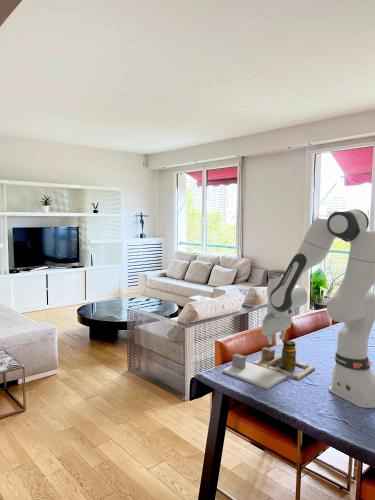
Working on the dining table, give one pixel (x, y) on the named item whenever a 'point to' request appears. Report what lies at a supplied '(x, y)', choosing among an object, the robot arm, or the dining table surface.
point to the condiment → (288, 357)
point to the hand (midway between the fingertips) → (276, 341)
